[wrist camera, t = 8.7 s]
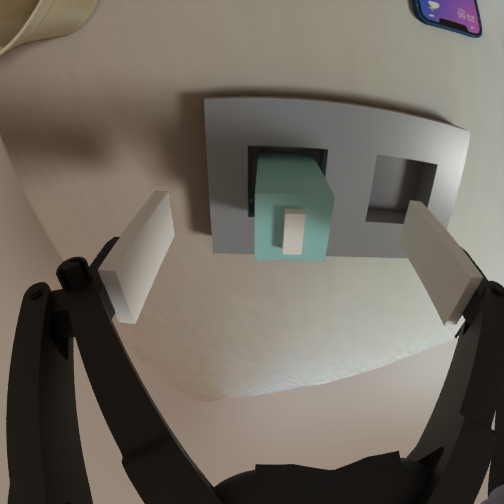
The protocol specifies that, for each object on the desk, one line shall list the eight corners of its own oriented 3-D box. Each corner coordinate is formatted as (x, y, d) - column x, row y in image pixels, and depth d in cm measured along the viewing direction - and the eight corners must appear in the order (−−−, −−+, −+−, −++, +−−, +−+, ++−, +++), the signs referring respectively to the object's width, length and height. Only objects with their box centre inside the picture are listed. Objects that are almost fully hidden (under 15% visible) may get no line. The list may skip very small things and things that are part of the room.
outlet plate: (210, 96, 19) (204, 98, 17) (454, 124, 18) (470, 131, 16) (217, 236, 25) (213, 252, 23) (425, 243, 25) (435, 258, 23)
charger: (258, 152, 21) (254, 197, 14) (312, 154, 21) (337, 200, 13) (258, 200, 23) (254, 265, 16) (308, 202, 23) (326, 267, 16)
